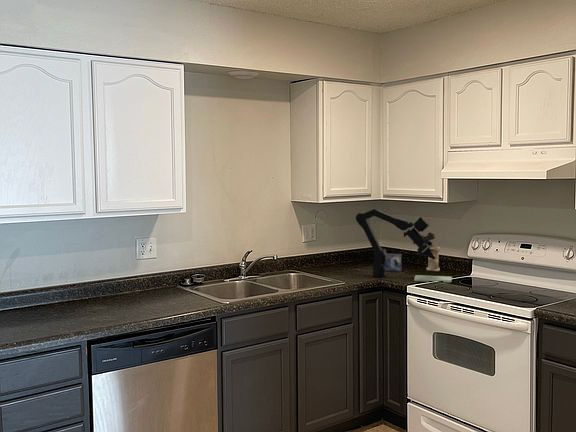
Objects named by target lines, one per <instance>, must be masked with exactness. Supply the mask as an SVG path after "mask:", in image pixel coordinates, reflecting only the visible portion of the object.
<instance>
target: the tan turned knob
mask: <svg viewBox="0 0 576 432" xmlns="http://www.w3.org/2000/svg"><path fill="white" fill-rule="evenodd" d="M430 251H431V252H432V254H433V255H434V257H435V259H432V258H430V257H428V259H427V261H428V262H427V266H426V271H430V272H440V270H441V268H440V266H439V262H440V261H439V255H440V253H439V252H440V251H441V247H440V246H434V245H433V246H430Z"/></svg>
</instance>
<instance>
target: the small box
mask: <svg viewBox="0 0 576 432" xmlns="http://www.w3.org/2000/svg"><path fill="white" fill-rule="evenodd" d="M387 254H388V260H387V262H385V264H384V265H383V266H384V268H385V272H388V271H389V272H393V273H402V270H403V269H402V265H403V264H402V257H403V254H402V253H387ZM389 272H388V273H389Z"/></svg>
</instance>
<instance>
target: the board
mask: <svg viewBox="0 0 576 432" xmlns="http://www.w3.org/2000/svg"><path fill="white" fill-rule="evenodd" d="M452 278H453V276H446V275H445V276H444V275H441V276H440V275H421V274H420V275H419V274H417V275H415V276H414V281H415V282H429V281H443V282H442V283H451V282H452V280H453V279H452Z"/></svg>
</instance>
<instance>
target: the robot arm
mask: <svg viewBox="0 0 576 432" xmlns="http://www.w3.org/2000/svg"><path fill="white" fill-rule="evenodd" d="M373 217H376V218H378V219H380V220H383V221H385V222H387V223H390V224H392V225H394V226H395V227H396V228H397V229H399V230H401V231H403V238H405V237H408V238H409V239H410V240H411V241H412V242H413V244H414V245H416V246H417V253H418V254H419V255H420V254H421V255H423V256H425V257H430V258H432V259H435V257H434V255H433V254H432V252H431V251H430V246H434V242H433V241H432V240H435V239H436V236H435V235H436V234H434V232H433V233H432V231H431V232H428V233H427V235H426V236H424V235H423V234H422V235H421V233H420V232H422V233H423V232H424V231H425V230H426V229H427V228H428V227H430V223H429V222H428V221H427V220H426V219H425V218H423V217H422V216H420V217H419V218H418V219H417V220H416V221H415V222H411V221H409V220H408V219H403V218H400V217H395V216H393V215H391V214H389V213H386V212H384V211H381V210H379V209H378V208H373V209H371V210H369V211H366V212H359V213H357V214H356V215H355V220H356V222H357V223H358V225H359V227H361V229H363V231H364V234H365V236H366V238H367V241H369V243H370V246H371V248H372V250H373V253H374V258H375V260H373V262H371V265H372V276H371V277H372V278H384V277H385V276H386V271H385V268H384V264H385V262H387V260H388V254H387V250H386V248H382V247H381V245H380V243H379V241H378V239H377V237H376V236H375V233H374V231H373V229H372V227H371V224H370V219H371V218H373Z"/></svg>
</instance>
